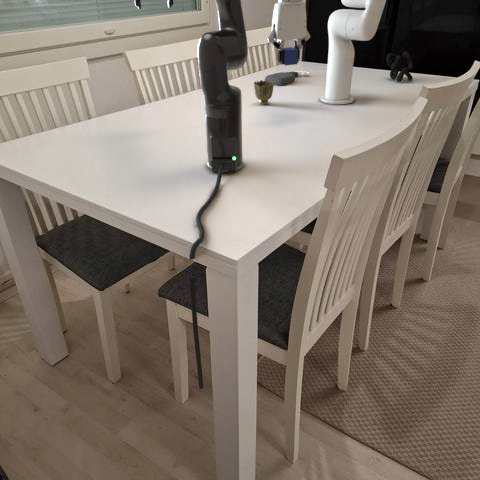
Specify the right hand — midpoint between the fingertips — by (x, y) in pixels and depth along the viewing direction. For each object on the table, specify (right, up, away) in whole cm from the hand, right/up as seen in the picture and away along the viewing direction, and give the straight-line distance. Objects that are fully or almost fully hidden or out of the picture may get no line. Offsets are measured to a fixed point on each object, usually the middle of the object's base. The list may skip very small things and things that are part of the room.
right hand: (288, 62), depth 142 cm
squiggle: (+57, +15, +58) cm, 83 cm away
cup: (-6, -5, +29) cm, 30 cm away
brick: (0, 0, 0) cm, 0 cm away
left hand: (-40, +9, -16) cm, 44 cm away
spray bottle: (+7, +17, +63) cm, 65 cm away
